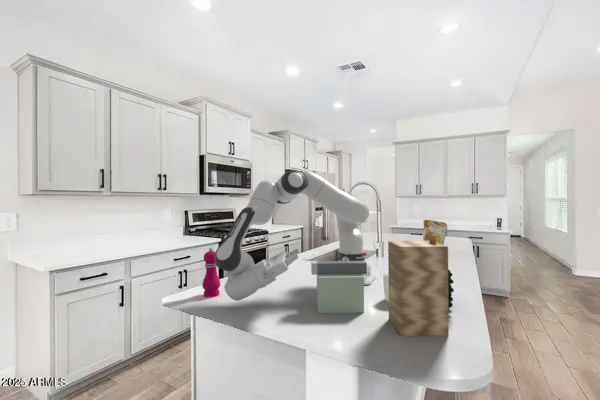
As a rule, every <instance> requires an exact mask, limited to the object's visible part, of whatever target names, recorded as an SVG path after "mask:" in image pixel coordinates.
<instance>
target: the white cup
mask: <svg viewBox="0 0 600 400" xmlns="http://www.w3.org/2000/svg"><path fill="white" fill-rule="evenodd" d="M382 277H383V278H382V279H383V283H382V284H383V294H384V301H386V302H387V303H389V272H384V273H383V274H382Z"/></svg>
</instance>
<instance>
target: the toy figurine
mask: <svg viewBox="0 0 600 400" xmlns="http://www.w3.org/2000/svg"><path fill="white" fill-rule="evenodd" d="M452 276H453V273H452V272H451V270H450V268H448V308H452V307H453V306H454V305H453V300H454V298H453V296H452V293H453V292H454V291H455V290H454V288H453V287H452V284H454V280H453V279H452Z"/></svg>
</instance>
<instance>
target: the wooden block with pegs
mask: <svg viewBox="0 0 600 400" xmlns="http://www.w3.org/2000/svg"><path fill="white" fill-rule="evenodd" d="M387 244H388V246H387V247H388V249H387V250H388V252H387V253H388V254H387V255H388V264H387V265H388V269H387V271H388V273H389V302H388V320H389V322H390V323H391V324H392V326H393V327H394V329H395V330H396V332H397V333H398V334H399V336H401V337H403V336H404V337H406V336H407V337H411V336H412V337H413V336H414V337H415V336H416V337H417V336H420V337H421V336H422V337H423V336H424V337H425V336H426V337H427V336H432V337H434V336H439V337H443V336H449V307H448V269H449V246H448V245H445V244H444V245H442V244H439V243H437V242H436V236H434V235H429V241H423V240H388V243H387Z"/></svg>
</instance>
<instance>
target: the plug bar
mask: <svg viewBox="0 0 600 400" xmlns="http://www.w3.org/2000/svg"><path fill="white" fill-rule="evenodd" d="M365 261H366V260H365ZM365 261H339V260H311V261H310V262H311V265H310V266H311V275H312V276H317V275H324V274H367V263H368V262H367V261H366V262H367V263H366V262H365Z"/></svg>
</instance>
